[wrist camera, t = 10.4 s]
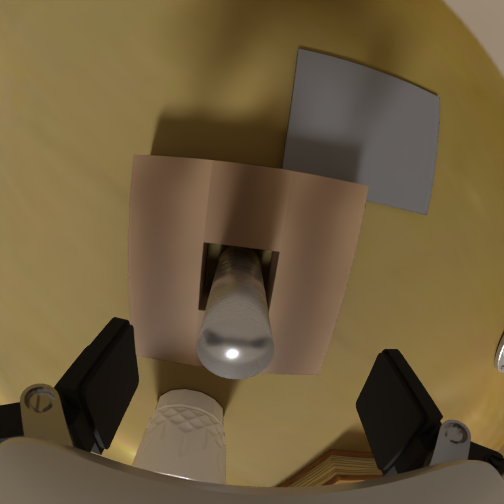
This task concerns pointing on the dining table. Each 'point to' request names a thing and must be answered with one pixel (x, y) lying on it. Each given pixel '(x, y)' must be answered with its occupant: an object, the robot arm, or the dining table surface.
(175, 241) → the hole block
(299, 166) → the mat
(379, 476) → the diary
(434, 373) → the dining table surface
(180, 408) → the white cup
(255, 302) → the peg
